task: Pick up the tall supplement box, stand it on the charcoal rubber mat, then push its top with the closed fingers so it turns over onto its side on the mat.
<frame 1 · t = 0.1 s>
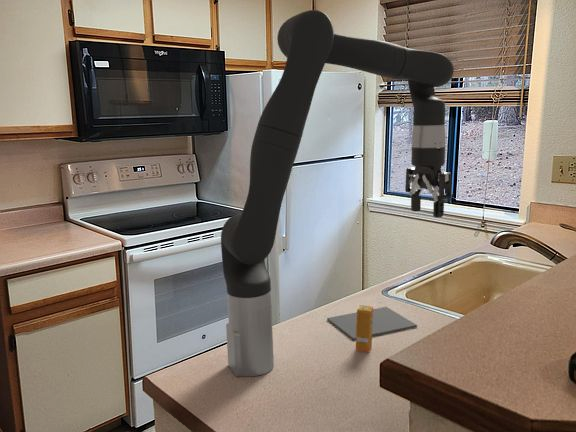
hand: (426, 214, 125), 29 cm above the worktop, fingers open, 8 cm apart
supplement box: (364, 349, 121), on the worktop
mat: (371, 323, 135), on the worktop
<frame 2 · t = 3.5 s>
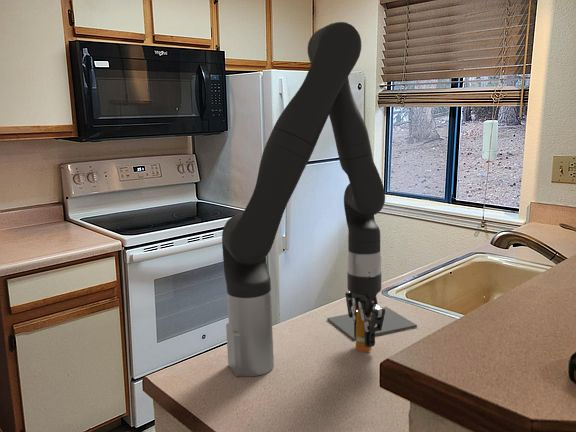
hand: (364, 341, 121), 2 cm above the worktop, fingers closed on supplement box, 4 cm apart
supplement box: (364, 349, 121), on the worktop, touching gripper
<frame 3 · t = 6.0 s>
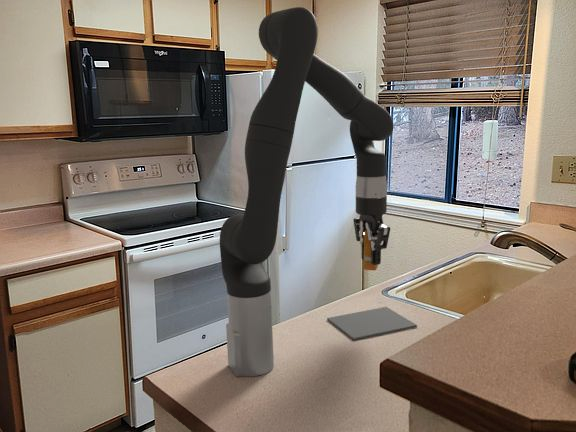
hand: (370, 261, 132), 16 cm above the worktop, fingers closed on supplement box, 4 cm apart
supplement box: (371, 269, 132), point 14 cm above the worktop, touching gripper
when the fingers open (3 cm above the worktop, at t = 8.6 s): supplement box stays where it is, resting on mat.
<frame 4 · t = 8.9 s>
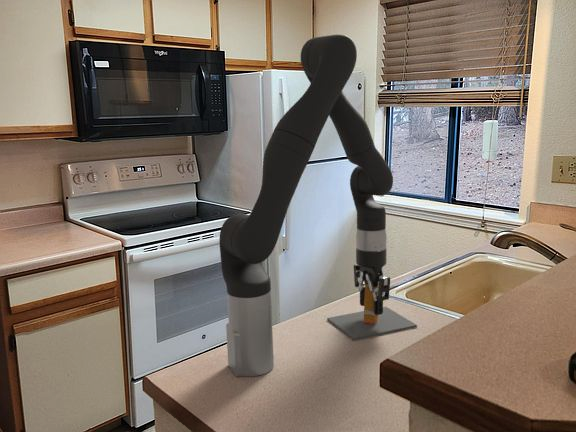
hand: (371, 309, 134), 4 cm above the worktop, fingers open, 6 cm apart
supplement box: (371, 322, 135), resting on mat
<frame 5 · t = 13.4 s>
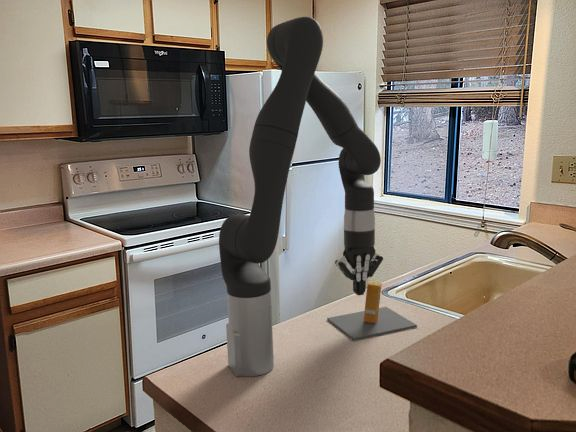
hand: (359, 294, 132), 8 cm above the worktop, fingers closed
supplement box: (371, 321, 135), point 1 cm above the worktop, touching gripper, mat
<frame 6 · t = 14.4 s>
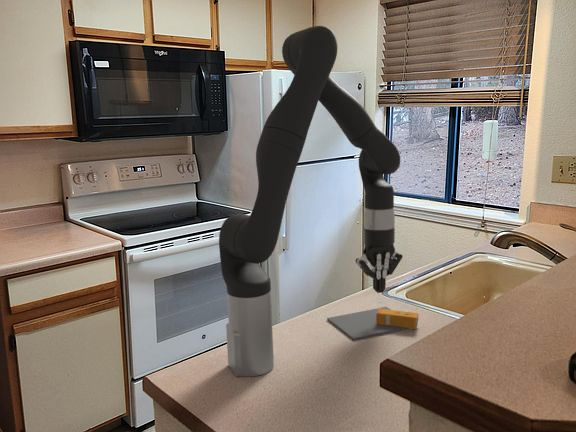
hand: (379, 291, 135), 8 cm above the worktop, fingers closed
supplement box: (376, 316, 134), point 2 cm above the worktop, touching mat
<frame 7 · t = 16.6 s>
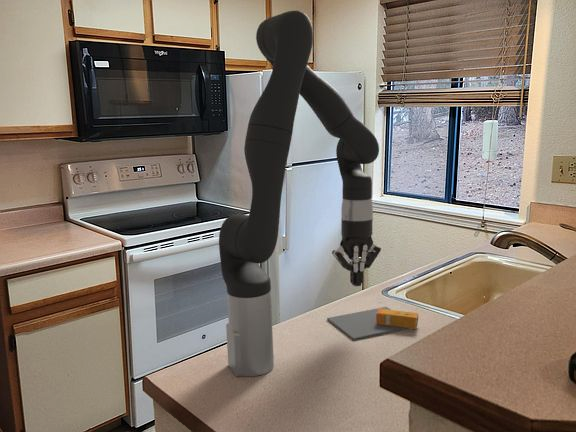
hand: (356, 285, 131), 11 cm above the worktop, fingers closed
nothing on the worktop moved.
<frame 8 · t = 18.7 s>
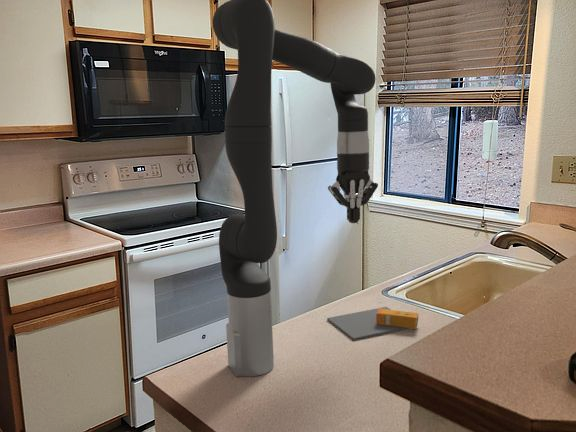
hand: (353, 222, 128), 27 cm above the worktop, fingers closed
nothing on the worktop moved.
at the end: supplement box tilted 89°; supplement box inside the target area (2.2 cm from its centre), point 2.1 cm above the worktop; the gripper is holding nothing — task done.
